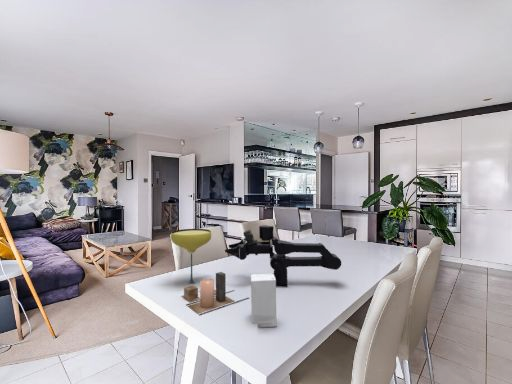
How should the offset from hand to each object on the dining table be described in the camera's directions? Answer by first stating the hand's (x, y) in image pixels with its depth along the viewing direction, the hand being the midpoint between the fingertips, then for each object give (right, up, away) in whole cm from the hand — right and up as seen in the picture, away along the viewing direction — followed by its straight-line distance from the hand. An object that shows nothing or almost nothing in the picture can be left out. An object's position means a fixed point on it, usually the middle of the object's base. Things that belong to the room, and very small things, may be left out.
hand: (226, 248), depth 125 cm
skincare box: (+16, -17, -37) cm, 44 cm away
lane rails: (0, -17, -23) cm, 28 cm away
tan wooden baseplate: (-3, -16, -25) cm, 30 cm away
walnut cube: (-12, -15, -20) cm, 28 cm away
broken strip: (-9, -17, -17) cm, 25 cm away
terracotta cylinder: (-4, -15, -27) cm, 31 cm away
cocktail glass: (-16, -17, -3) cm, 23 cm away
